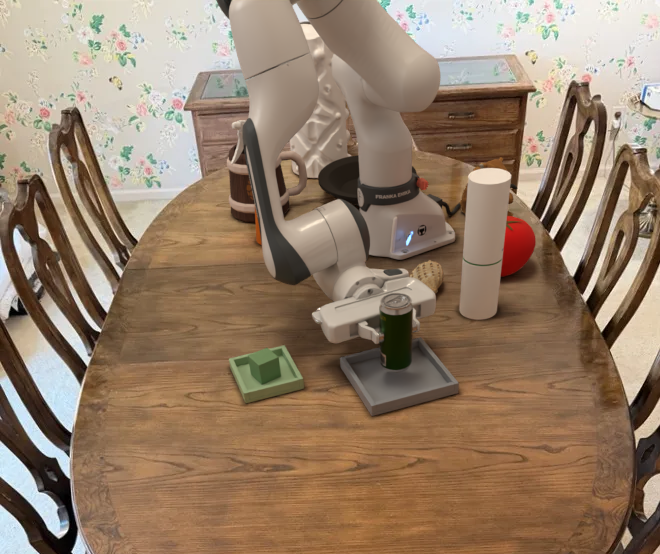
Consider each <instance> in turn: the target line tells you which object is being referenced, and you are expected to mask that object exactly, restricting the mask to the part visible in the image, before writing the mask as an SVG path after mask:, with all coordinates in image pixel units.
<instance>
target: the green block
mask: <svg viewBox="0 0 660 554" xmlns="http://www.w3.org/2000/svg"><path fill="white" fill-rule="evenodd" d="M254 352H255V353H254ZM254 352H251V353H252V354H250V353H249V354H250V355H248V360H249V366H250V372H251V375H252V376H253V377H254V378H255V379H256V380H258V381H259V382H260V383H261V384H265V383H267V382H269V381H271V380H274V379H276V378H278V377H281V371H280V364H279V357H278V356H277V355H276V354H274V353H273V352H272V351H271V350H270V348H269V347H265V348H262V349H260V350H258V351H254Z"/></svg>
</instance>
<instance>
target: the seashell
mask: <svg viewBox="0 0 660 554" xmlns="http://www.w3.org/2000/svg"><path fill="white" fill-rule="evenodd" d="M444 276H445V275H444V270H443V266H442V264H440V263H438V261H436V260H435V261H432V260H431V259H429V260H428V261H423V262H422V263H418V264H417V266H416V267H414V268H413V269H412V271H411V273H410V274H409V277H412V278H416V279H418V280H420V281H421V282H422V283H424V284H425V285H426V286H428V287H429V288H430V289H431V290H432V291H433V292H434V293H435V294H437V293H438V292H439V288H440V286H441V285H442V284H443V282H444V279H445V278H444Z"/></svg>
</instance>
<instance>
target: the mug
mask: <svg viewBox="0 0 660 554" xmlns="http://www.w3.org/2000/svg"><path fill="white" fill-rule="evenodd" d="M236 147H237V143H236V144H234V145H233V146H232V147H231V148H230V149H229V150H228V157H227V158H226V168H227V169H228V173H229V174H228V175H229V177H228V178H229V191H230V194H229V196H228V205H229V206H230V213H231V215H232V216H233V217H234V218H235V219H237V220H239V221H241V222H245V223H255V224H256V222H255V204H254V199H253V194H252V189H251V185H250V180H249V175H248V170H247V164H246V159H245V153H244V149H243V151H242V153H241V155H240V156H239V158H238V159H237V161H236V162H235V163H234V164H231V161H232V159H233V156H234V153H235V150H236ZM290 160H291V162H292V161H294V162H295V163H296V165H297V166H298V172H299V175H298V183H297V185H296V186H293V187H290V188H287V187H286V183H285V177H284V173H283V168H282V162H283V161H290ZM275 173H276V179H277V184H278V190H279V195H280V200H281V205H282V211H283V216H285V215H286V213H287V212H288V211H289V209H290V206H291V204H290V197H294V196H295V197H296V196H297V195H300V194H301V193H302V192H303V191H304V189H306V188H307V182H308V178H307V171H306V165H305V162H304V160H303V159H302V157H301V156H300V155H299V154H297V153H296V152H294V151H291V150H285V151H283V150H282V151H281V152H280V154H279V156H278V158H277V162H276V167H275Z"/></svg>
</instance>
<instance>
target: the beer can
mask: <svg viewBox="0 0 660 554" xmlns="http://www.w3.org/2000/svg"><path fill="white" fill-rule="evenodd" d="M379 325H380V330H381V331H382V332H383V333H384V342H381V343H379V347H380V363H381V365H382V367H383V368H384V370H386V371H388V372H392V373H399V372H403V371H405V370H407V369H408V368H409V367H410V365H411V362H412V339H413V333H412V330H413V304H412V300H411V297H409V296H408V295H406V294H403V293H391V294H387V295H385V296H383V297H382V298H381V303H380V306H379Z"/></svg>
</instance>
